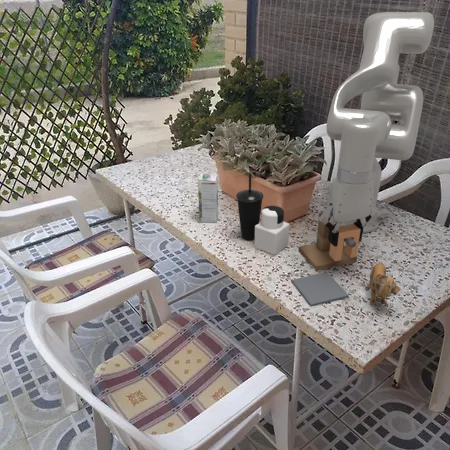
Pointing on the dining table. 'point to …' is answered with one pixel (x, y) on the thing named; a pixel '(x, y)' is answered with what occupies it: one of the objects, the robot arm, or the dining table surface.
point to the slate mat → (319, 289)
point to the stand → (325, 250)
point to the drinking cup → (249, 211)
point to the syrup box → (208, 197)
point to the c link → (344, 233)
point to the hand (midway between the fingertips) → (344, 240)
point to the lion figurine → (381, 284)
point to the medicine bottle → (272, 230)
